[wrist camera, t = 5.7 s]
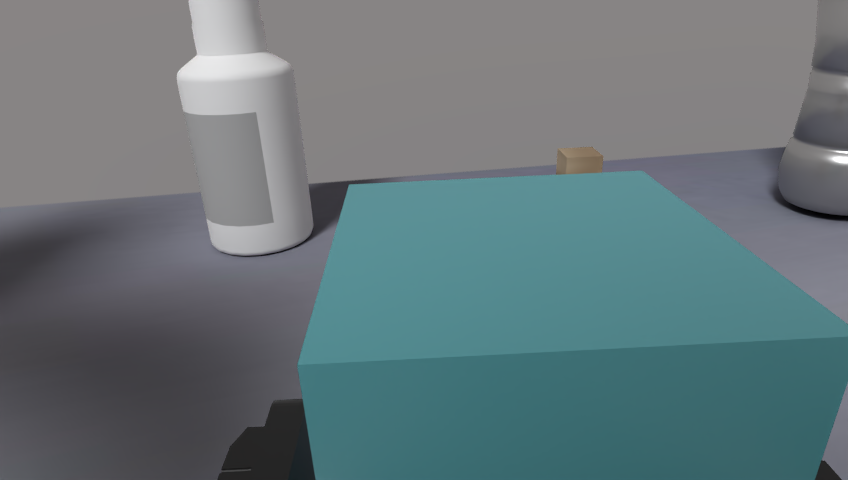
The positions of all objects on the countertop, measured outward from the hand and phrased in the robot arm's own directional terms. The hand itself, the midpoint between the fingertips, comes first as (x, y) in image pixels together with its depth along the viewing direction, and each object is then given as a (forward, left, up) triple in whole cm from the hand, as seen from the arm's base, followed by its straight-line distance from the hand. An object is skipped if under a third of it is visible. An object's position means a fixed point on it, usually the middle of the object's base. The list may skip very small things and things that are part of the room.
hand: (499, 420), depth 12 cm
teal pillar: (0, -2, -7) cm, 7 cm away
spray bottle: (-12, +26, -7) cm, 29 cm away
